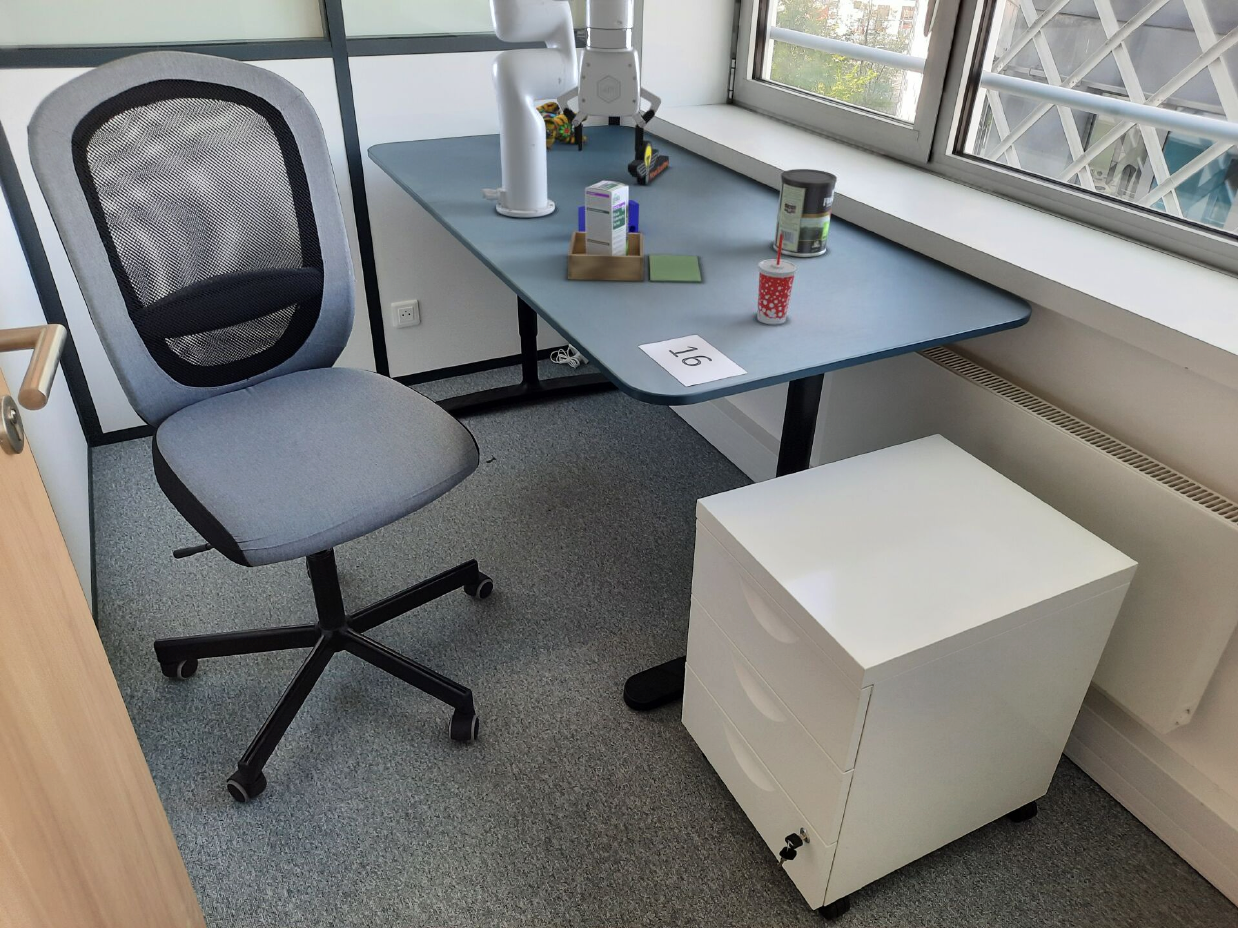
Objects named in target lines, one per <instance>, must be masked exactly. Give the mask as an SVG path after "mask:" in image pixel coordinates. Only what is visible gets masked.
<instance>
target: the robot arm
mask: <svg viewBox="0 0 1238 928" xmlns="http://www.w3.org/2000/svg"><path fill="white" fill-rule="evenodd" d="M569 1H573V0H488V6H489V13H490V19H491V24H492V28H493V31H494V34H495V36H496V38H497V39H498V40H501V41H502V42H506V43H532V42H544V43H545V45H546V47H542V48H541V47H539V48H535V47H534V48H517V49H516V48H515V49H509V50H505V51H502V52H500V53H499V54H497V56H495V58H494V59H493V60H492V64H491V79H492V84H493V89H494V94H495V99H496V105H497V115H498V126H499V127H498V128H499V142H500V144H499V145H500V162H501V163H500V165H501V183H502V185H501V187H497V188H496V189H491V188H482V193H481V194H482V199H486V201H497V203H496V204H495V208H496V211H497V212H498V213H499V214H501V215H504V216H507V217H513V218H525V219H526V218H538V217H543V216H547V215H550V214H551V213H553V212H554V211H555V208H556V204H555V202H554V201H553V200H551V199H549V198H548V170H547V169H548V167H547V166H548V165H547V150H546V127H545V122H544V119H543V117H542V116H541V114H540V113H539V112H538V110H537V109H536V108H537V107H536V106H535V104H534V102H538V101H543V100H545V101H546V100H556V103H557V104H558V105H559V107H560V109H561V110H562V113H563V114H564V115H565V116H566V118H567V119H568V120H569V121H570V122H571V123H572V125H573V126H572V127H573V132H574V144H573V145H574V146H577V151H578V152H582V151H583V150H584V143H583V135H584V124H583V122H582V120H583V119H584V118H585V116H586V115H587V116H588V117H612V118H613V117H615V118H616V117H618V118H619V117H620V118H621V117H624V118H625V117H627V118H628V117H631V118H632V119H633V120H634V121H635V123H636V125H634V129H635V130H634V152H639V146H643V140H644V130H645V129H644V128H645V127H646V125H647V124H648V123H649V122H650V121H652V119H653V118H654V117H655V116H656V113H657V111H658V110H659V108H660V106H661V104H662V99H661V97H660V96H658V95H656V94H654V93H653V92H651V91H649V90H647V89H646V88H644V87H642V86H641V74H640V61H639V53H638V50H637V48H635V47H634V44H633V43H634V15H635V14H634V13H635V12H634V10H635V9H634V7H635V0H585V1H586V2H585V22H586V23H585V25H586V26H585V27H586V28H584V29H582V30H577V32H576V38H577V41H581V42H584V44H585V47H583V48H581V52H580V57H579V63H578V57H577V56H578V55H577V49H576V40H575V39H576V38H575V33H574V32H575V31H574V21H573V15H572V10H571V9H572V8H571V5H570V3H569ZM578 65H579V66H578ZM576 97H577V104H578V105H577V106H578V111H576V112H577V114H575V112H574V111H573V110H572V109H571V108H570V106H569V103H568V101H570V100H572V99H574V98H576ZM641 98H642V99H644V100H645V101H647V102H648V103H650V106H649V108H648V109H647V110H646V111H645V113H643V114H642V113H641V112H640V106H641Z"/></svg>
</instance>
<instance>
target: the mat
mask: <svg viewBox="0 0 1238 928" xmlns="http://www.w3.org/2000/svg"><path fill="white" fill-rule="evenodd" d="M649 279H650V282H668V283H669V282H672V283H673V282H676V283H702V278H701V272H700V266H699V261H698V256H697V255H681V254H680V255H677V254H649Z"/></svg>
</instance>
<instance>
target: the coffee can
mask: <svg viewBox="0 0 1238 928" xmlns="http://www.w3.org/2000/svg"><path fill="white" fill-rule="evenodd" d="M780 179H781V181H780V190H779V198H778V206H777V207H778V208H777V215H776V223H775V224H776V225H775V231H774V232H775V234H774V240H773V249H774V250H775V251H776V252H778V247H779V239H780V234H783V240H782V248H781V255H782V254H783V255H786V256H791V257H799V258H813V257H814V258H815V257H818V256H822V255H823V254H825V252H827V242H828V236H829V235H828V234H829V228H830V221H831V215H832V209H833V201H834V194H835V189H836V183H837V181H838V177H837V176H836V175H835V174H833V173H831V172H829V171H824V170H819V169H811V168H810V169H809V168H796V169H789V170H785V171H783V172H781V174H780Z"/></svg>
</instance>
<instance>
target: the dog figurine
mask: <svg viewBox="0 0 1238 928" xmlns="http://www.w3.org/2000/svg"><path fill="white" fill-rule="evenodd" d="M535 108H536V109H537V110H538V112H539V113H540V114H541V116H542V117H543V119H544V122H545V127H546V151H547V150H550V149H551V148H552V146H553V144H554V142H555V140H556V141H558V142H560V143H563V144H569V145H574V128H573V127H574V126H573V125H572V123H571V122H570V121H569V120H568V119H567V118H566V116H565V115H564V114H563V111H562V110H561V108H560V106H559V104H558V102H555V101H548V102H546V103H544V104H541V105H540V106H537V107H535ZM577 112H578V111H575V112H574V113H575V114H577ZM588 117H589V116H587V115H586V116H585V118H584V119H583V120H582V123H583V122H586V121H587V120H588ZM586 142H587V137H586V136H585V135H584V134H583V144H585V143H586Z"/></svg>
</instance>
